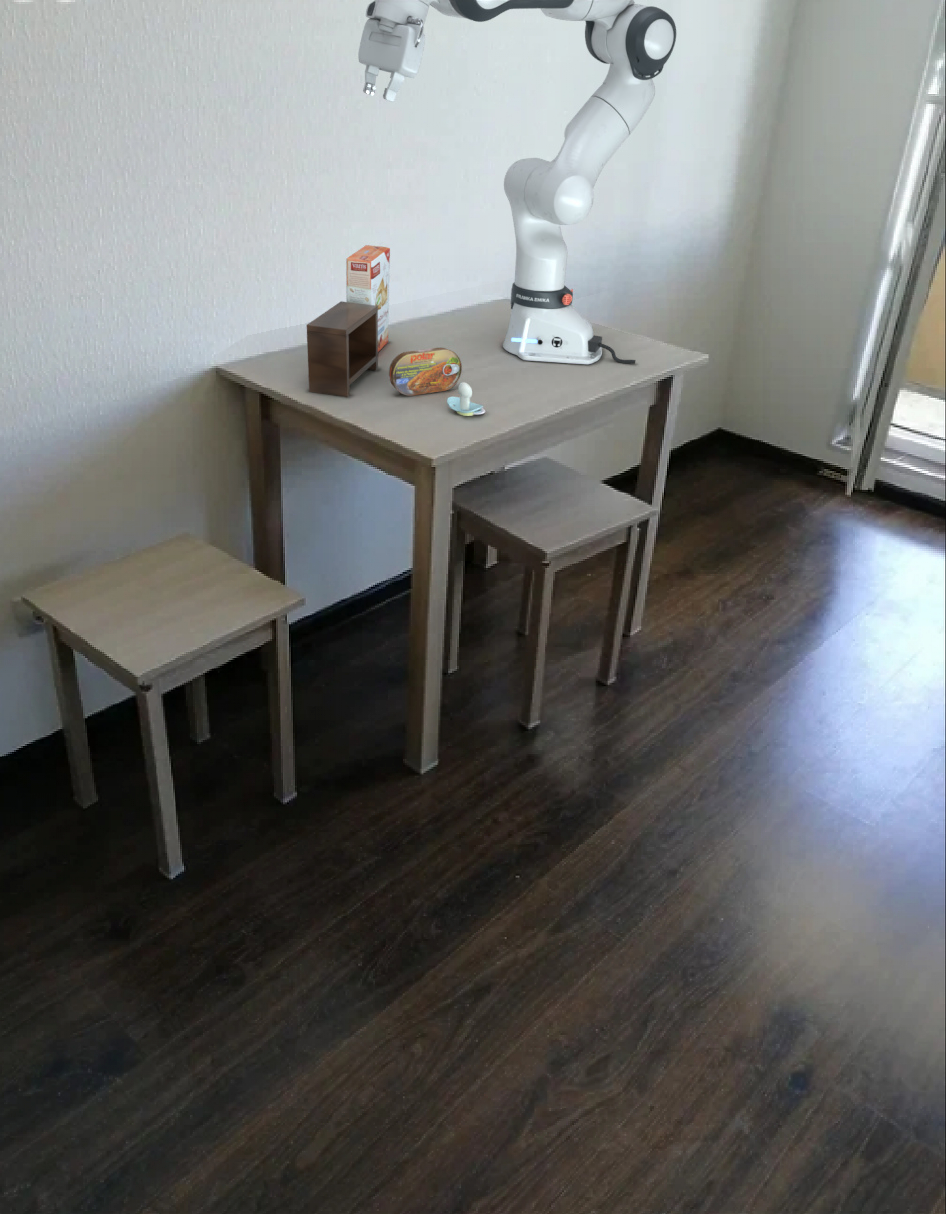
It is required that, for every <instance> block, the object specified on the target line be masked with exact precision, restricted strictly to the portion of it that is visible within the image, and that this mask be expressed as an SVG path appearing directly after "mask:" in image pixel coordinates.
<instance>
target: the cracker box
mask: <svg viewBox="0 0 946 1214" xmlns="http://www.w3.org/2000/svg"><path fill="white" fill-rule="evenodd" d="M345 259H346V260H345V261H346V262H345V265H346V266H345V267H346V269H345V270H346V271H345V273H346V274H345V275H346V278H345V279H346V282H345V284H346V286H345V287H346V290H345V291H346V296H345V297H346V302H350V303H359V304H367V305H375V306H378V353H379V352H380V351H381V350H382V349H383V348H384V347H385V346H386V345H387V344H388V343H389V322H390V320H389V319H390V317H389V316H390V315H389V313H390V267H391V266H390V265H391V263H390V261H391V248H390V247H388V246H379V245H370V244H368V245H367V244H366V245H363V247H361V248H360V249H358V250H356V251H355V252H354V253H352V254H351V255H350V256H348V257H346V258H345Z"/></svg>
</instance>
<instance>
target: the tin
mask: <svg viewBox="0 0 946 1214" xmlns="http://www.w3.org/2000/svg"><path fill="white" fill-rule="evenodd" d="M462 369H463V365H462V361H461V358H460V356H459V355H458V354H457V353H456V352H455V351H454V350H451V349H449V348H446V347H432V348H424V349H418V350H417V349H416V350H408V351H404V352H401V353H399V354H398V355H396V356H395V357H394V358H393V360H392V361H391V363H390V365H389V370H388V376H389V381H390V383H391V385H392V387H393V388H394V389H395V390H397V391H398V392H399V393H400V394H402V395H404V396H408V397H412V396H419V395H425V394H433V393H441V392H446V391H449V390H451V389H452V388H453V387H454V386H455V385H457V383H458V382H459V380H460V378H461V375H462Z"/></svg>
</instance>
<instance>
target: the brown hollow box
mask: <svg viewBox="0 0 946 1214" xmlns="http://www.w3.org/2000/svg"><path fill="white" fill-rule="evenodd" d="M306 345H307V369H308V370H307V371H308V392H310V393H316V394H323V395H330V396H336V397H344V398H348V397H349V396H350V394H351V393H350V385H352V384H353V383H354V382H355V381H357V379H358V378H360V376H362V375H363V374H364V373H365V372H366V371H367V370H368V371H377V370H378V369H379V352H378V306H375V305H367V304H359V303H350V302H347V301H343V300H341V301H339V302H338V303H336V304H334V305H333V306H331V307H330V308H329V309H328V310H326V311H324V312H323V313H321V314H320V315H319V316H317V317H315V318H314V319H313V320H312V321H310V322H308V323H307V324H306Z"/></svg>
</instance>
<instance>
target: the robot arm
mask: <svg viewBox="0 0 946 1214" xmlns="http://www.w3.org/2000/svg"><path fill="white" fill-rule="evenodd" d="M430 6H431V7H432V8H434V9H435V10H436V11H437V12H439V13H441V14H442V15H445V16H446V17H453V18H459V19H467V20H470V21H473V22H478V23H482V22H484V23H485V22H489V21H491V20H493V19H494V18H496V17H498V16H500V15H501V14H503V13H505V12H506V11H509V10H525V9H526V10H529V9H533V10H534V9H540V10H541V13H543V15H544V16H546V17H548V18H551V19H556V20H559V21H566V22H567V21H569V22H585V27H584V39H585V45H586V49H587V51H588V53H589V54H590V55H591V56H592V57H593V58H594V59H595V60H597V61H598V62H599V63H603V64H605V65H606V64H607V65H609V68H608V71H607V74H606V76H605V78H604V80H603V82H602V83H601V85H600V86H599V87H598V88H597V89H596V90H595V91H594V92H593V93H592V95H591V96H590V97H589V98H588V99H587V101H585V103H584V104H583V106H581V108H580V109H579V110H578V111H577V113H575V115H574V116H573V117H572V119H570V121H569V122H568V123H567V125H566V127H565V128H564V133H563V134H564V135H563V137H564V140H563V143H562V145H561V147H560V149H559V151H558V153H557V155H556V156H555V157H554V159H552V160H551V161H549V160H546V159H543V158H540V157H527V158H521V159H517V160H516V161H514V163H512V164H511V165H510V166H509V167H508V169H507V171H506V172H505V175H504V178H503V190H504V193H505V196H506V198H507V201H508V203H509V205H510V210H511V216H512V222H513V229H514V235H515V266H514V267H515V268H514V282H513V283H512V285H511V290H510V302H509V303H510V304H509V305H510V318H509V323H508V327H507V331H506V335H505V337H504V340H503V343H502V348H503V350H505V351H507V352H509V353H510V354H512V355H516V356H517V357H518V358H519V359H521V360H523V361H532V362H545V363H559V364H576V365H591V364H594V363H596V362H598V361H599V360H600V359H601V358H602V355H603V349H605V350H607V351H608V352H610V354H611V357H612V359H613V361H615V362H617V363H618V364H632V365H633V364H636V359H621V358H618V356H616V355H617V354H616V351H615V350H614V349H613V348H612V347H611V346H609V345H607V344H605V343H603V336H601V335H596V334H594V329H593V325H592V323H591V322H590V320H588V318H586V317H585V316H584V315H583V314H582V313H581V312H580V311H579V310H578V309H577V308H576V307H574V305H572V304H573V297H574V296H573V295H574V290H573V288H571V289H570V288H569V287H567V285H565V284H566V274H567V265H568V264H567V263H568V252H569V251H568V246H567V244H566V242H565V239H564V237H563V233H562V229H561V225H562V226H572V225H576V224H579V223H581V222H582V221H584V220H585V219H586V218H587V216H588V215H589V214H590V212H591V210H592V207H593V204H594V199H595V198H594V197H595V195H594V189H595V186H596V183H597V181H598V179H599V177H600V175H601V173H602V171H603V169H604V168H605V166H606V165H607V163H608V162H609V161H610V160H611V158H613V156H614V154H615V153H616V152H617V151H618V150H619V148H620V147H621V146H622V145H623V143H624V142H625V141H626V140H627V139H628V137H629V136H630V135H631V134H632V133H633V131H634V130H635V129H636V128H637V126H638V125H639V124H640V122H641V120H642V119H643V117H644V116H645V114H646V113H647V111H648V109H650V106H651V104H652V103H653V101H654V99H655V95H656V87H655V83H654V80H653V79H654V78H655V77H657V76H659V75H660V74H661V73H662V72H663V69H664V66H665V64H666V63H667V62H668V60H669V59H670V58H671V55H672V53H673V51H674V48H675V45H676V40H677V26H676V22H675V20H674V19H673V17H672V16H671V15H670V14H669V13H668V12H667V11H665V10H663V9H661V8H659V7H657V6H654V5H653V6H648V5H644V4H641V3H640V4H639V3H635V0H373V1H372V2H370V3H369V4H368V5H367V7H366V10H365V18H368V19H367V20H366V21H365V23H364V26H363V30H362V34H361V39H360V42H359V47H358V52H357V54H358V55H357V57H358V62H359V64H362V65H364V66H365V70H364V85H363V90H362V91H363V93H364V94H366V95H369V96H374V95H375V93H376V89H377V86H376V79H377V77H378V75H379V73H380V71H382V72H386V73H390V76H389V79H390V80H389V82H388V84H387V87H385V88H384V91H383V94H382V98H383V99H384V100H385V101H389V102H391V103H393V102H395V100H396V97H397V94H398V92H399V90H400V88H401V87H402V86H403V84H404V81H405V79H406V78H410V79H415V78H416V76H417V75H418V73H419V71H420V66H421V63H422V59H423V53H424V49H425V44H426V35H425V34H424V31H425V27H424V26H425V23H426V19H427V15H428V11H429V9H430ZM405 77H406V78H405Z"/></svg>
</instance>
